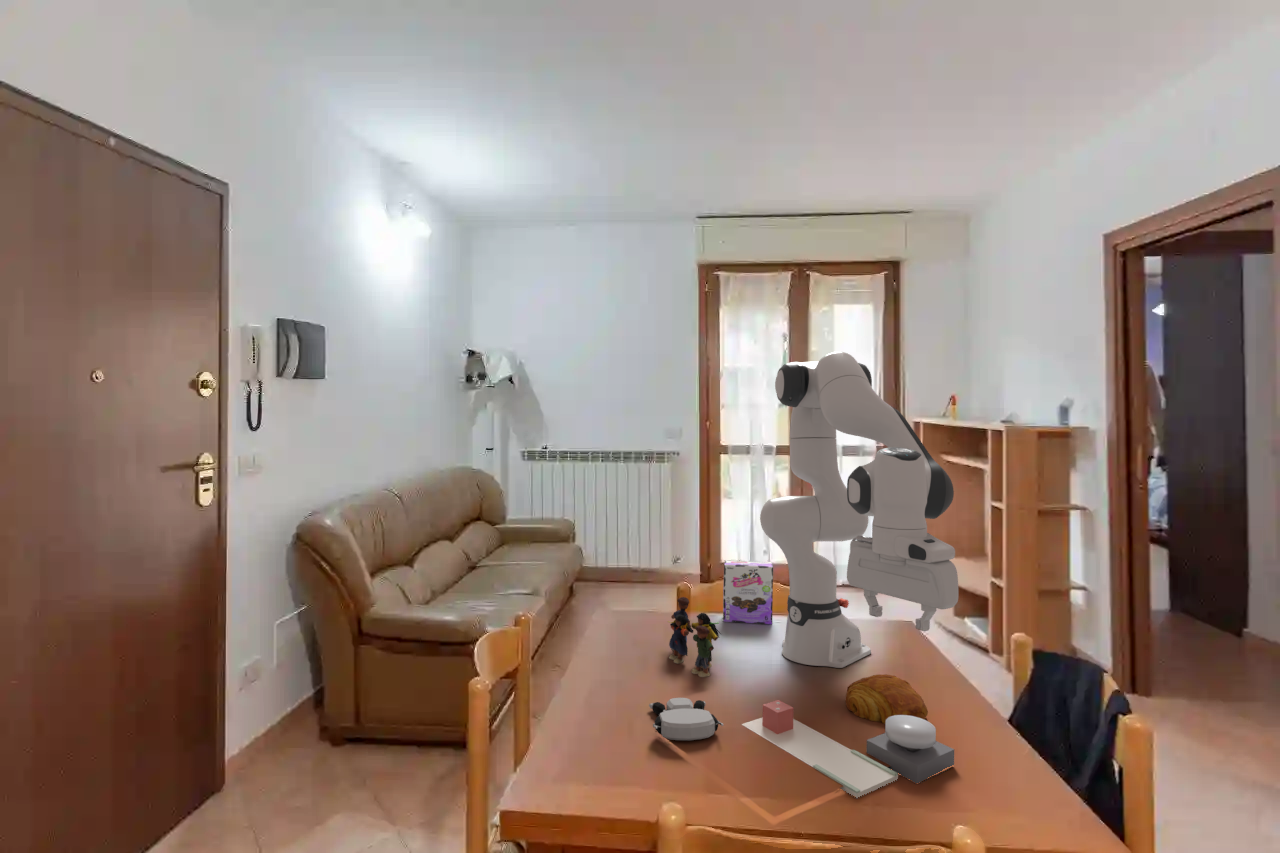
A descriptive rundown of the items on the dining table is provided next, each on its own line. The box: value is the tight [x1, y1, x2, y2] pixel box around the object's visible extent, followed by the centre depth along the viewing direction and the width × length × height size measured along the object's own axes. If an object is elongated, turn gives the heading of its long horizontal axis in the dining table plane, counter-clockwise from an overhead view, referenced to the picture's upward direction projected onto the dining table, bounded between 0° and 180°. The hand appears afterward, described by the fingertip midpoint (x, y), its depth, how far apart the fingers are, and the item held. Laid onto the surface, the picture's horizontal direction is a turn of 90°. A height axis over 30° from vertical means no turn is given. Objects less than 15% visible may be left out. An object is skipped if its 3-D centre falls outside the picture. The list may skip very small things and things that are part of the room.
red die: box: [761, 699, 795, 734], centre depth 128 cm, size 4×4×4 cm
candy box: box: [722, 559, 774, 625], centre depth 193 cm, size 14×6×16 cm, turn 81°
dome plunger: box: [884, 715, 937, 753], centre depth 117 cm, size 8×8×4 cm
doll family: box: [667, 596, 723, 678], centre depth 163 cm, size 23×9×13 cm, turn 35°
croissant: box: [844, 673, 929, 725], centre depth 135 cm, size 14×16×8 cm
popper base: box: [866, 732, 955, 784], centre depth 117 cm, size 10×10×3 cm
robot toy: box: [648, 697, 724, 741], centre depth 128 cm, size 12×4×15 cm
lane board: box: [740, 717, 899, 799], centre depth 119 cm, size 13×27×1 cm, turn 33°
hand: (898, 622), depth 118 cm, fingers open, 8 cm apart
